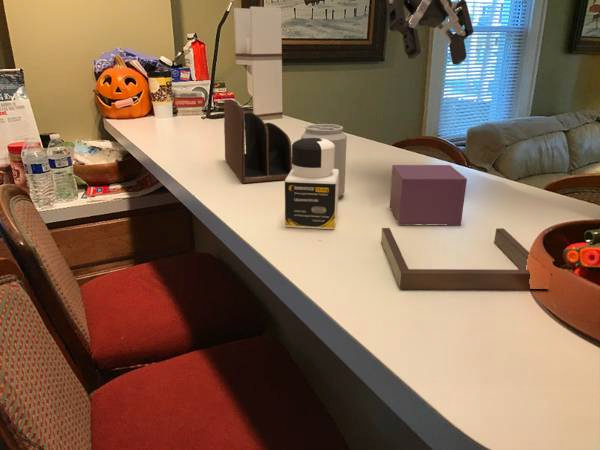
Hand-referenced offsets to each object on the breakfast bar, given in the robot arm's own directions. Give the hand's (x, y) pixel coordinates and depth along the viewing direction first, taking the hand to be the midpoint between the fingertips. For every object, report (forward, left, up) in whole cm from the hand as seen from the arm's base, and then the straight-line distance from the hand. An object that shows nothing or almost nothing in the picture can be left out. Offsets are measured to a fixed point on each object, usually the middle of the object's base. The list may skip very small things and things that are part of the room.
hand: (437, 59), depth 71 cm
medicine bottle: (+19, +10, -23) cm, 31 cm away
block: (+2, +8, -22) cm, 24 cm away
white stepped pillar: (+35, -92, -23) cm, 101 cm away
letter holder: (+30, -20, -23) cm, 43 cm away
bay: (+2, +24, -22) cm, 33 cm away
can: (+17, -2, -23) cm, 28 cm away
